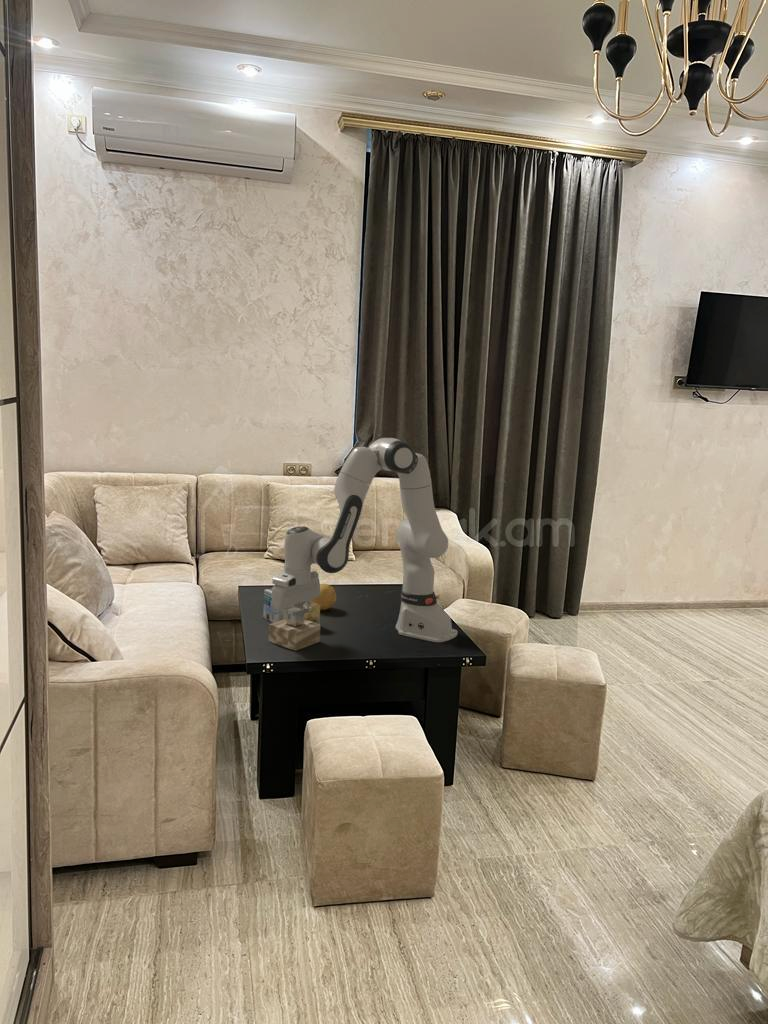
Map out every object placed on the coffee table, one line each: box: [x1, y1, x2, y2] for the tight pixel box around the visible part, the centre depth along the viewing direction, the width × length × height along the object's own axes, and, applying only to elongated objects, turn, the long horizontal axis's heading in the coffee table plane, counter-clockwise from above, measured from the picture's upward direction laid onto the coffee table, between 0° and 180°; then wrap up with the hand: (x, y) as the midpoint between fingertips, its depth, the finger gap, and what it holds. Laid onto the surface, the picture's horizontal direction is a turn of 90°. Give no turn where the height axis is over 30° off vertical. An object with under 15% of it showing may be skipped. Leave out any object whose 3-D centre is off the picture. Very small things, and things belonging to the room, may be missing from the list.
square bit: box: [287, 606, 304, 628], centre depth 253 cm, size 4×4×10 cm
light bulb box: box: [263, 587, 295, 624], centre depth 273 cm, size 11×7×11 cm, turn 40°
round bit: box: [302, 603, 321, 624], centre depth 269 cm, size 6×6×8 cm
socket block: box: [268, 619, 321, 651], centre depth 253 cm, size 12×12×6 cm
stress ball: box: [312, 583, 337, 611], centre depth 289 cm, size 10×10×10 cm
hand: (296, 615), depth 253 cm, fingers open, 8 cm apart
